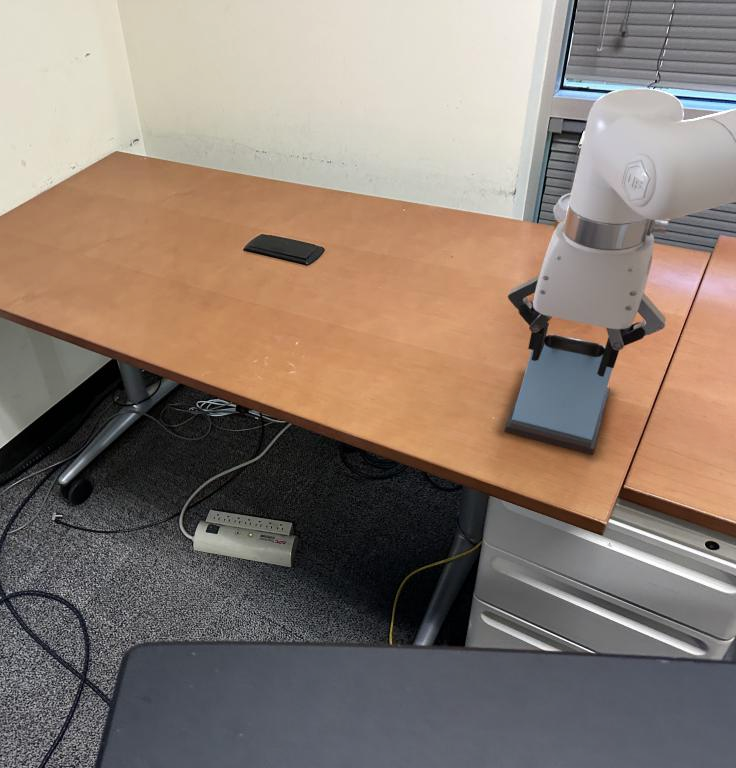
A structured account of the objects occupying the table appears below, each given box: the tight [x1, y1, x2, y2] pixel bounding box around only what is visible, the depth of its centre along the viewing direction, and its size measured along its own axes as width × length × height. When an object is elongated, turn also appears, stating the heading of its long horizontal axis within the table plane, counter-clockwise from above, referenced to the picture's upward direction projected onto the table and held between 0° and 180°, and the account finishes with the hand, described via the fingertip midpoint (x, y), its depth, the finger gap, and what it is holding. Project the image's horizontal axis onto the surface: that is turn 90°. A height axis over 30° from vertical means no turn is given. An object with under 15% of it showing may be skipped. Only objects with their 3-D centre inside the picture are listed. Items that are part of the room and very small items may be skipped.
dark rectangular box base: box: [504, 386, 611, 456], centre depth 86 cm, size 12×10×2 cm
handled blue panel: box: [512, 333, 613, 440], centre depth 81 cm, size 11×9×5 cm
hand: (569, 360), depth 80 cm, fingers closed on handled blue panel, 6 cm apart
